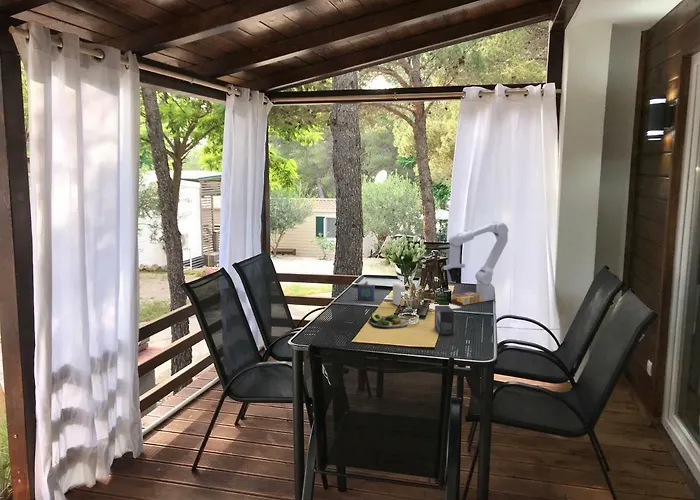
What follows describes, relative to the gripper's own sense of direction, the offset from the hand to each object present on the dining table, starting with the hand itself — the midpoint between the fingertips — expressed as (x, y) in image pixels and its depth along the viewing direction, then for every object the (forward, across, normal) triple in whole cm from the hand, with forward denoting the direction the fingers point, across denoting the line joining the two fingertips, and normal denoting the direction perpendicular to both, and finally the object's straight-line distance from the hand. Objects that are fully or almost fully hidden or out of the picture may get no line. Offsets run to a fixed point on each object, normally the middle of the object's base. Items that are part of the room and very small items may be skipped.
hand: (453, 281), depth 297 cm
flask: (+11, +42, -24) cm, 50 cm away
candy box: (+8, +5, +8) cm, 12 cm away
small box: (+11, +47, +41) cm, 63 cm away
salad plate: (+11, +61, +18) cm, 65 cm away
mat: (+10, +17, +8) cm, 21 cm away
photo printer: (+11, +33, -6) cm, 35 cm away
